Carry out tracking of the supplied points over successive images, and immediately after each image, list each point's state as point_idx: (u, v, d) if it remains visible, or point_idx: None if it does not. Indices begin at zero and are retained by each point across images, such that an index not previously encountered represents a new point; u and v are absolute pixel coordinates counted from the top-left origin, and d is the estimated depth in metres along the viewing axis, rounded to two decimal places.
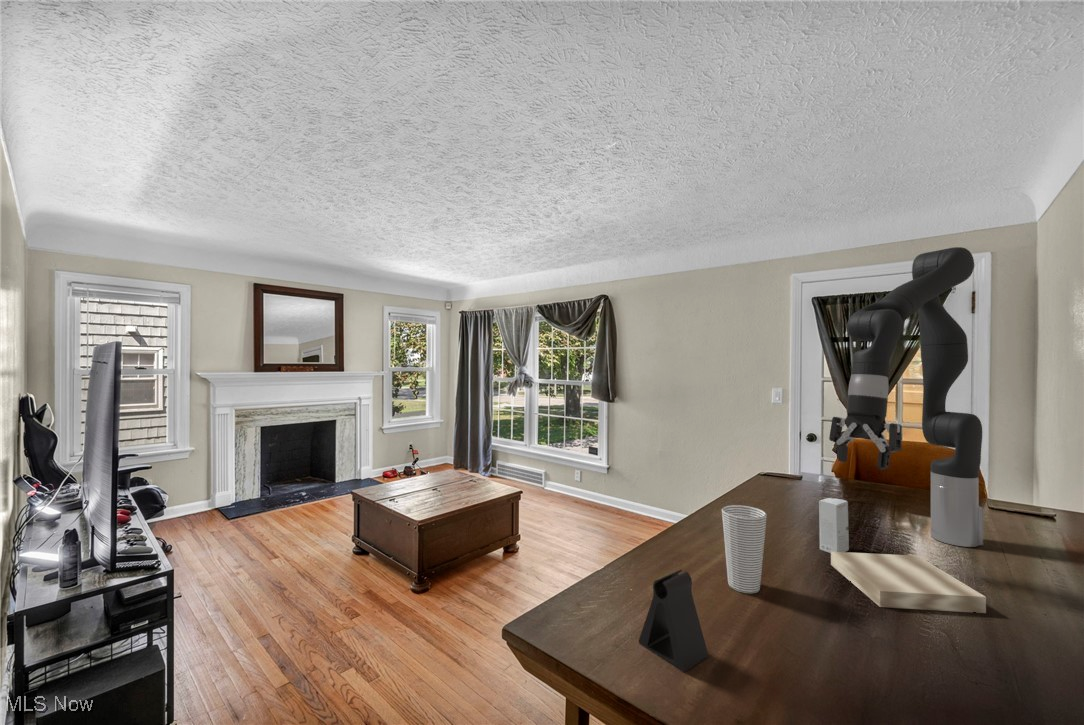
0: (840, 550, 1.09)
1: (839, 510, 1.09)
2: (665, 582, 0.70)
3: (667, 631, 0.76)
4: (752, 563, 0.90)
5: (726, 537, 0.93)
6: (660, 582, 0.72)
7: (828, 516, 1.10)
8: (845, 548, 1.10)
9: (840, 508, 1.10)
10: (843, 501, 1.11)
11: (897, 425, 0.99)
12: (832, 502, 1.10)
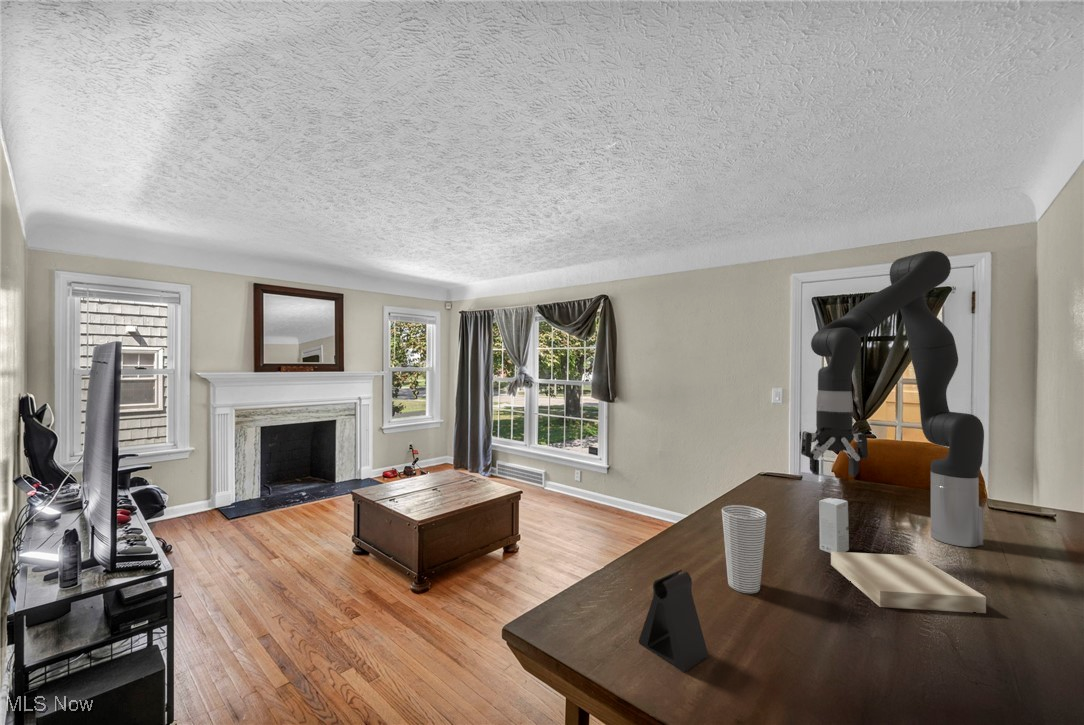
0: (840, 550, 1.09)
1: (839, 510, 1.09)
2: (665, 582, 0.70)
3: (667, 631, 0.76)
4: (752, 563, 0.90)
5: (726, 537, 0.93)
6: (660, 582, 0.72)
7: (828, 516, 1.10)
8: (845, 548, 1.10)
9: (840, 508, 1.10)
10: (843, 501, 1.11)
11: None
12: (832, 502, 1.10)
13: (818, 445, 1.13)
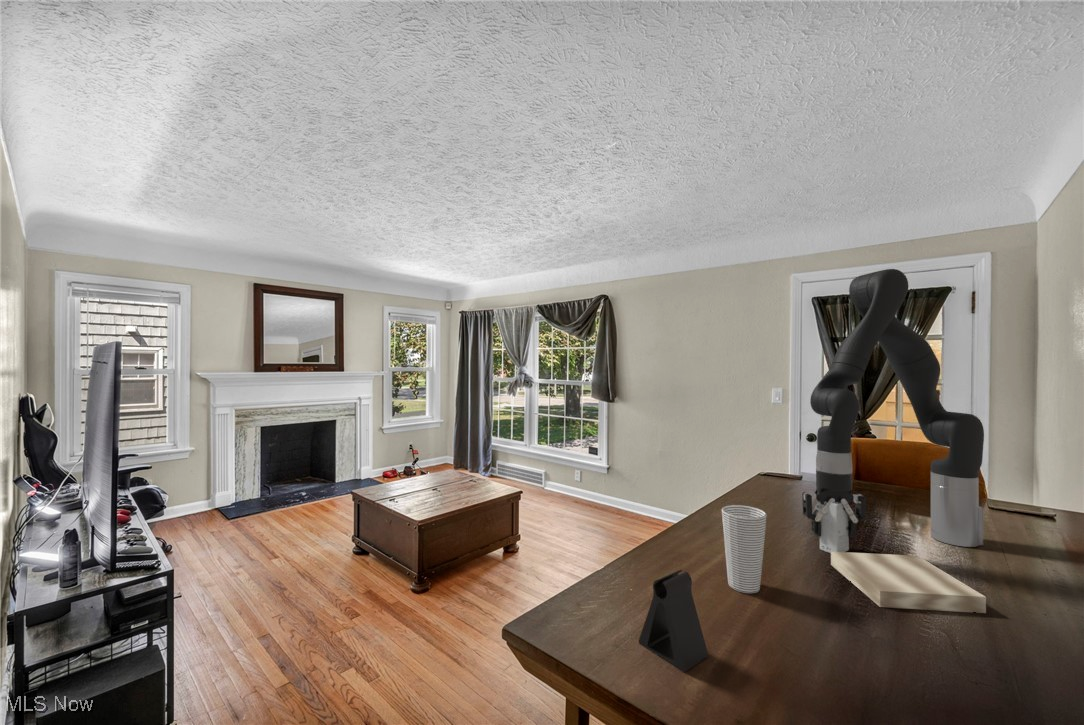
0: (840, 550, 1.09)
1: (839, 510, 1.09)
2: (665, 582, 0.70)
3: (667, 631, 0.76)
4: (752, 563, 0.90)
5: (726, 537, 0.93)
6: (660, 582, 0.72)
7: (828, 516, 1.10)
8: (845, 548, 1.10)
9: (840, 508, 1.10)
10: None
11: None
12: None
13: None
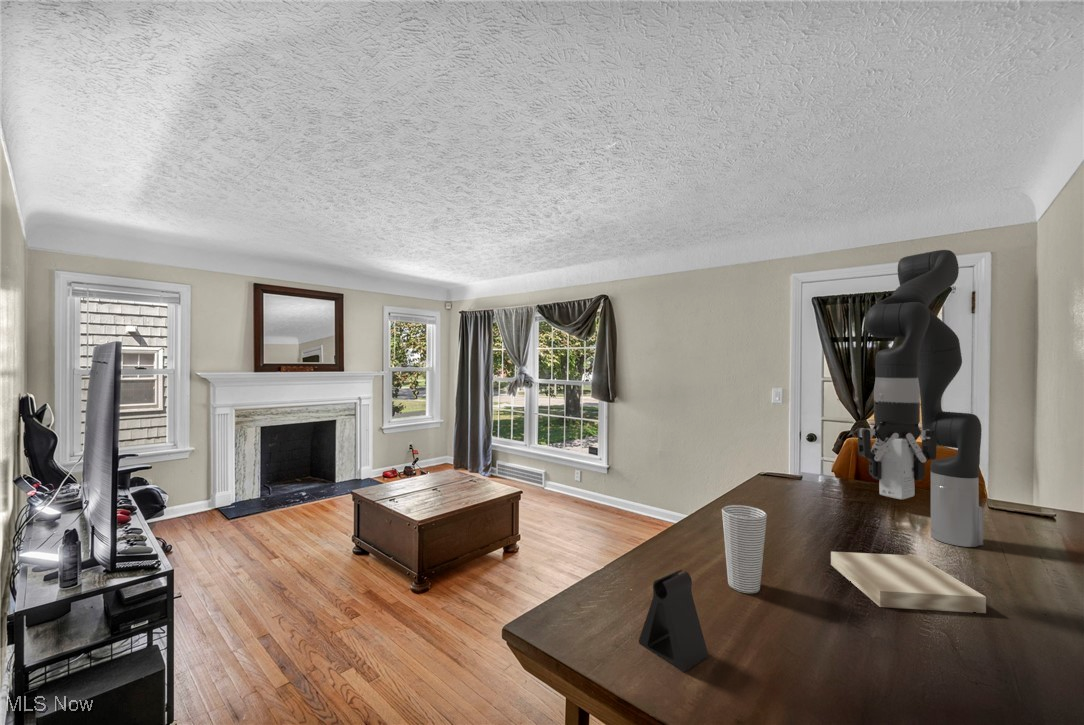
0: (906, 494, 0.91)
1: (905, 446, 0.92)
2: (665, 582, 0.70)
3: (667, 631, 0.76)
4: (752, 563, 0.90)
5: (726, 537, 0.93)
6: (660, 582, 0.72)
7: (891, 454, 0.92)
8: (910, 492, 0.92)
9: (906, 444, 0.92)
10: None
11: None
12: (895, 438, 0.93)
13: (878, 443, 0.95)
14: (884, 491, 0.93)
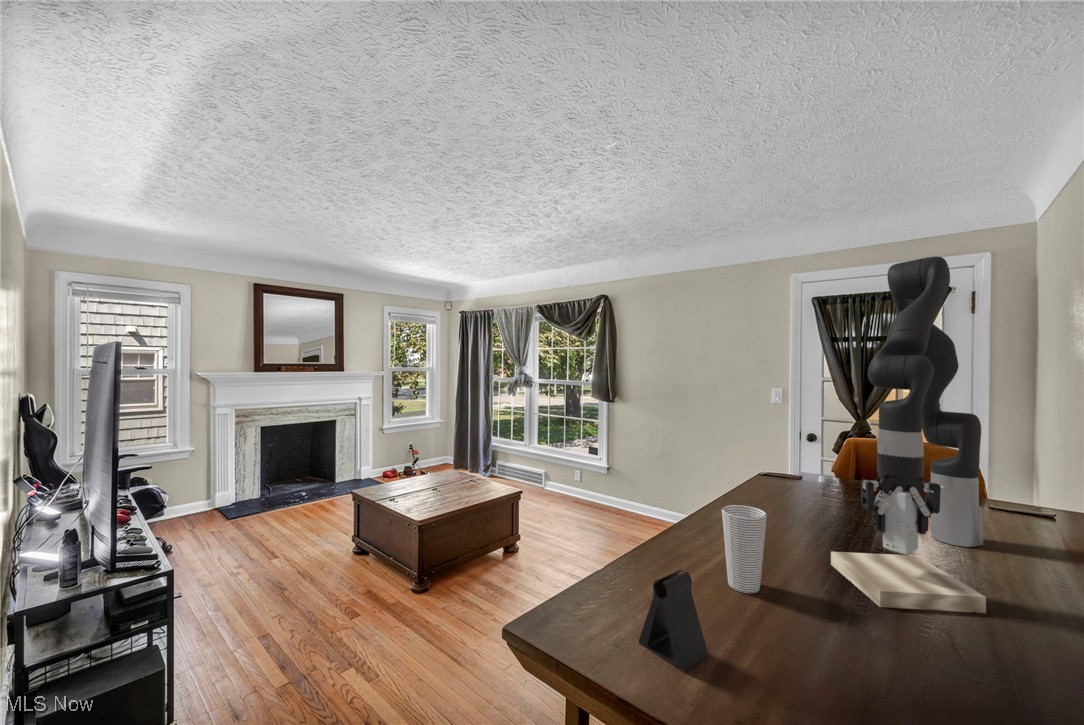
0: (909, 549, 0.91)
1: (908, 500, 0.91)
2: (665, 582, 0.70)
3: (667, 631, 0.76)
4: (752, 563, 0.90)
5: (726, 537, 0.93)
6: (660, 582, 0.72)
7: (894, 508, 0.92)
8: (914, 546, 0.92)
9: (909, 498, 0.91)
10: None
11: None
12: None
13: (881, 495, 0.95)
14: (888, 545, 0.92)
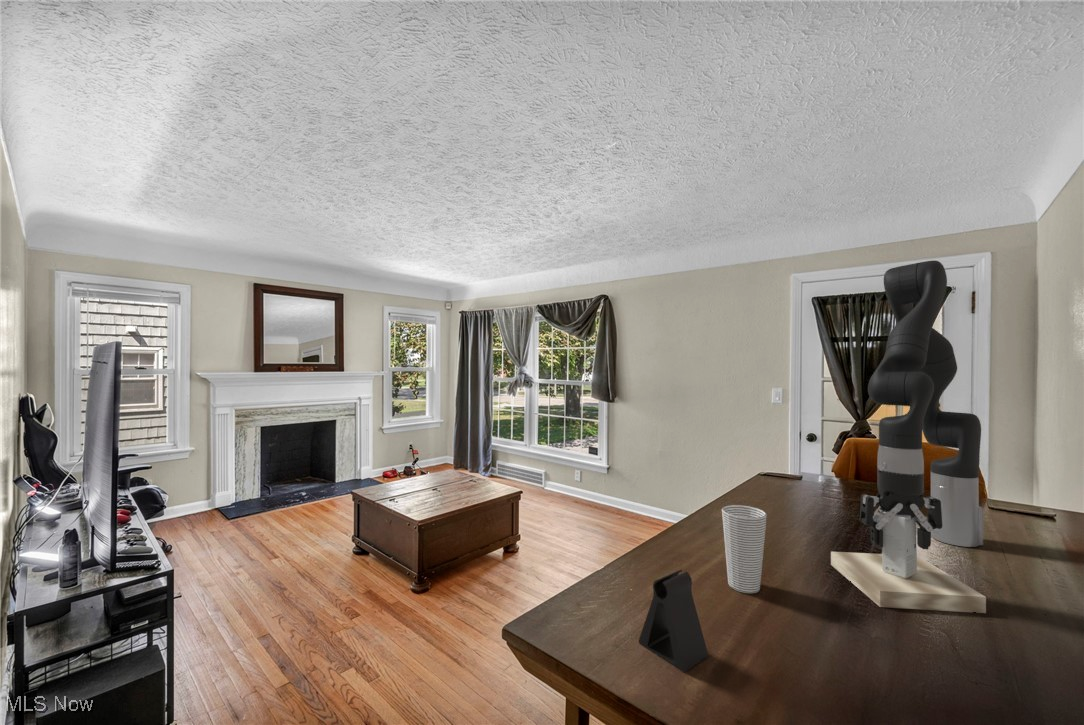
0: (909, 572, 0.91)
1: (908, 524, 0.91)
2: (665, 582, 0.70)
3: (667, 631, 0.76)
4: (752, 563, 0.90)
5: (726, 537, 0.93)
6: (660, 582, 0.72)
7: (894, 531, 0.92)
8: (913, 569, 0.92)
9: (908, 522, 0.91)
10: None
11: None
12: (898, 515, 0.92)
13: (880, 510, 0.95)
14: (887, 568, 0.92)
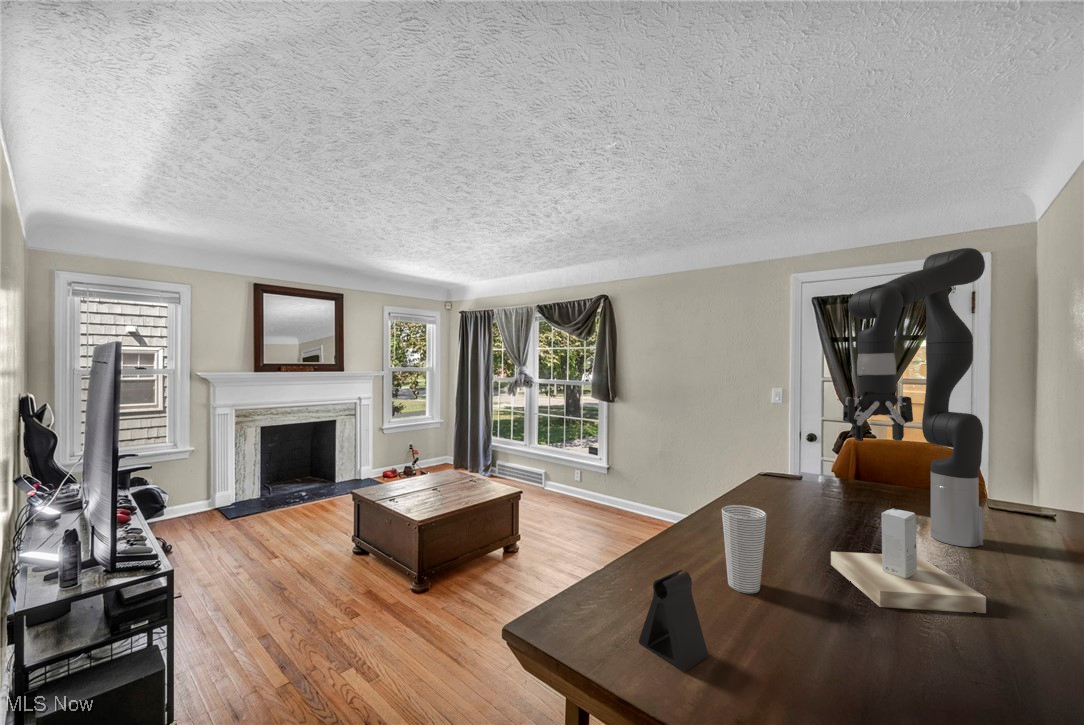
0: (909, 573, 0.91)
1: (908, 524, 0.91)
2: (665, 582, 0.70)
3: (667, 631, 0.76)
4: (752, 563, 0.90)
5: (726, 537, 0.93)
6: (660, 582, 0.72)
7: (894, 532, 0.92)
8: (913, 569, 0.92)
9: (909, 522, 0.91)
10: (910, 513, 0.93)
11: None
12: (898, 515, 0.92)
13: (860, 411, 1.09)
14: (887, 568, 0.92)
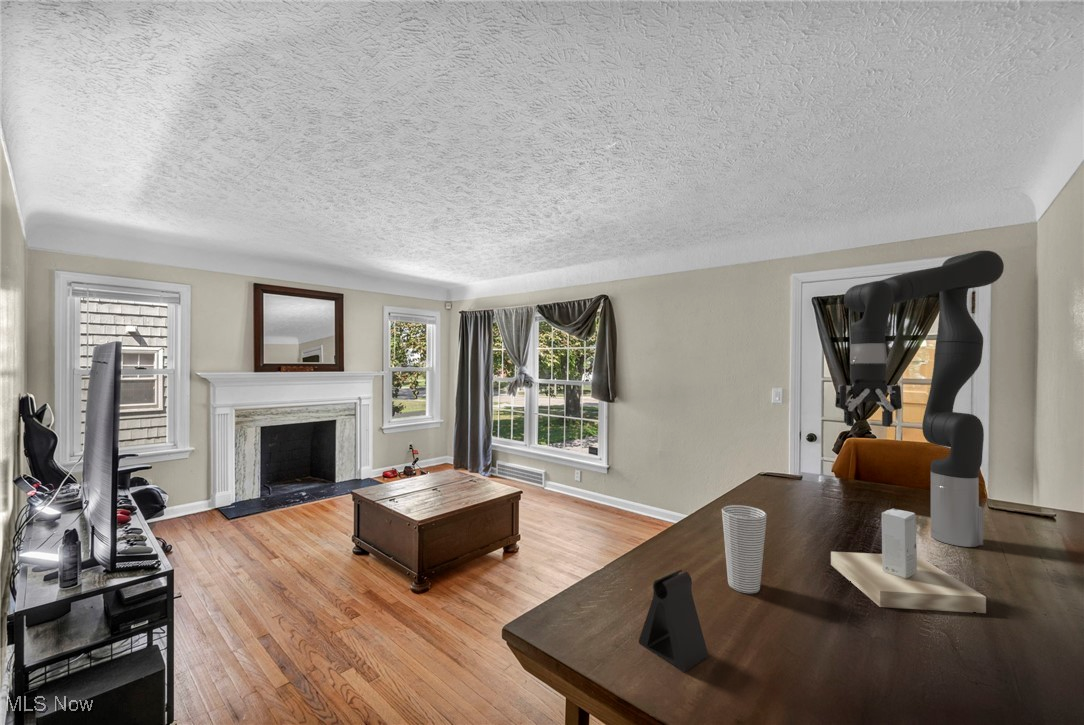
0: (909, 573, 0.91)
1: (908, 524, 0.91)
2: (665, 582, 0.70)
3: (667, 631, 0.76)
4: (752, 563, 0.90)
5: (726, 537, 0.93)
6: (660, 582, 0.72)
7: (894, 532, 0.92)
8: (913, 569, 0.92)
9: (909, 522, 0.91)
10: (910, 513, 0.93)
11: None
12: (898, 515, 0.92)
13: (852, 398, 1.16)
14: (887, 568, 0.92)
